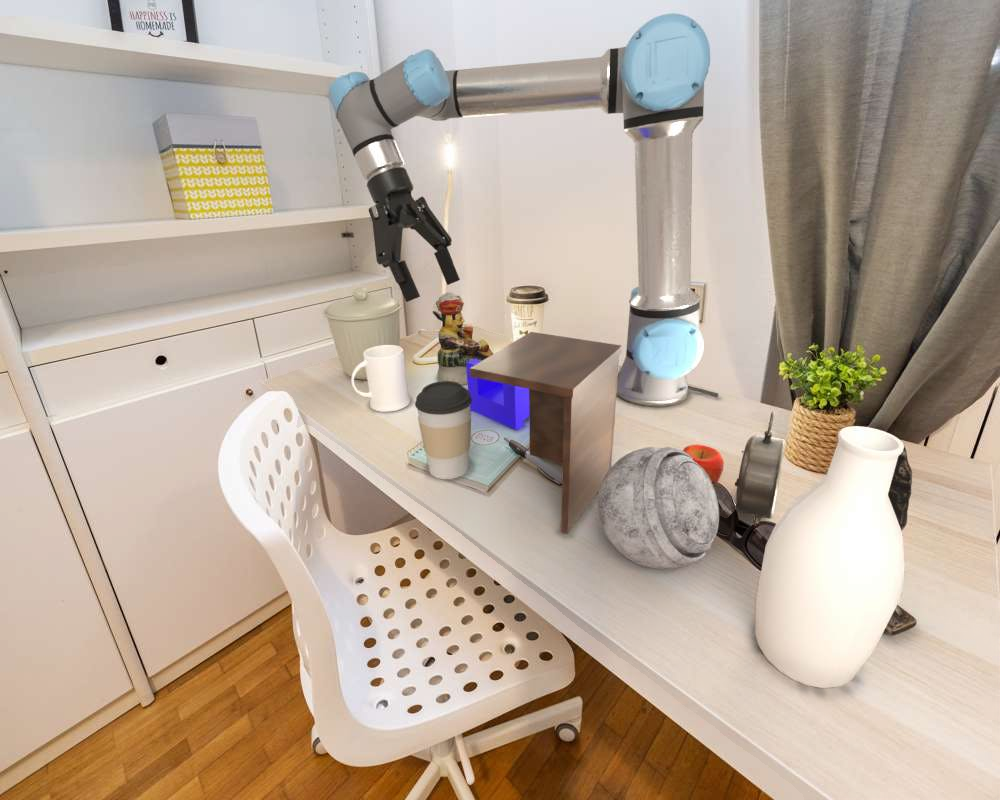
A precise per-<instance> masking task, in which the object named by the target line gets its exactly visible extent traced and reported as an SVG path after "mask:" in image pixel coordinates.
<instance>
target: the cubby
mask: <svg viewBox="0 0 1000 800" xmlns="http://www.w3.org/2000/svg"><path fill="white" fill-rule="evenodd" d="M622 351H623V346H622V345H621V344H615V343H608V342H600V341H595V340H589V339H581V338H574V337H568V336H561V335H554V334H548V333H541V332H535V331H530V332H528V333H527V334H525V335H523V336H522V337H520V338H518V339H516V340H514V341H513V342H512V343H509V344H508V345H506V346H504V347H503V348H502V349H500V350H498V351H495V352H494V353H493V355H491V356H489V357H488V358H486V359H484V360H483V361H481V362H479V363H478V364H476V365H474V366H473V367H471V368H469V371H470V377H475V378H480V379H485V380H489V381H494V382H499V383H503V384H508V385H513V386H518V387H522V388H527V389H529V417H528V419H529V420H528V421H529V425H528V426H529V456H532V457H535V458H538V459H542V460H546V461H549V462H553V463H557V464H561V465H562V471H561V472H562V475H561V476H562V477H561V478H562V479H561V513H560V515H561V516H560V533H561V534H565V535H569V533H570V532H571V530H572V529H573V528H574V526H575V525H576V524H577V522H578V520H579V519H580V518H581V516H582V514H583V513H584V511H585V510H586V509H587V508H588V507H589V505H590V504H591V502H592V501H593V499H594V498H595V496H597V494H598V493H599V490H600V487H601V484H602V481H603V479H604V477H605V475H606V474H607V472H608V471H609V469H610V468H611V467H612V461H613V460H612V459H613V448H614V447H613V446H614V445H613V444H614V431H615V419H616V417H615V416H616V405H617V404H616V403H617V394H616V392H617V378H618V374H619V362H620V355H621V354H622Z"/></svg>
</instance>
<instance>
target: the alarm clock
mask: <svg viewBox="0 0 1000 800" xmlns="http://www.w3.org/2000/svg"><path fill="white" fill-rule="evenodd" d="M774 419H775V411H771V413H770V418H769V422H768V428H767V430H765V431H764V435H760V434H759V435H758V434H756V435H752V436H751V437H750V438H748V439H747V442H746V443H745V447H744V450H741V453H742V458H741V462H740V467H739V473H738V477H737V478H736V481H735V482H734V486H735V487H736V497H735V500H736V501H735V502H736V504H735V505H734V508H735V509H736V508H738V509H739V510H740V511H741V512H742V513H744V514H745V513H746V514H749V515H753V516H754V517H753V518H754V519H753V525H754V524H755V523H757V522H759V523H760V522H761V518H766V519H772V517H773V515H774V511H775V506H776V505H775V504H776V501H777V496H778V491H779V484H780V479H781V474H782V467H783V460H784V454H785V449H786V440H785V439H784V438H775V437H773V432H772V431H771V430H772V427H773V424H774V423H773V422H774Z"/></svg>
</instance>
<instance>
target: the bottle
mask: <svg viewBox="0 0 1000 800" xmlns="http://www.w3.org/2000/svg"><path fill="white" fill-rule="evenodd" d="M837 439H838V442H837V444H836V448H835V450H834V453H833V455H832V458H831V461H830V464H829V465H828V470H827V472H826V475H825V476H824V477H823V478H822V479H820V480H819V481H818V482H816V483H814V485H812V486H811V487H809V488H808V489H806V490H805V491H804V492H803V493H801V494H800V495H799V496H798V497H796V498H795V500H794V501H793V502H791V504H790V505H789V506H788V508H787V509H786V510H785V512H784V513H783V514H782V516H781V517H780V518H779V519H778V520H777V522H776V523H775V525H774V527H773V529H772V532H771V533H770V535H769V537H768V540H767V542H766V543H765V548H764V553H763V558H762V563H761V568H760V569H761V570H760V575H759V582H758V587H757V593H756V598H755V599H756V600H755V601H756V602H755V631H754V632H755V633H754V634H755V637H756V638H755V639H756V641H757V645H758V647H759V649H760V650H761V651H762V653H763V655H764V657H765V658H766V659H767V661H768V662H769V663H770V664H772V666H773V667H774V668H775V669H777V670H778V671H779V672H780V673H781V674H783V675H785V676H786V677H788V678H789V679H791V680H792V681H796V682H797V683H800V684H802V685H805V686H808V687H813V688H820V689H830V688H839V687H842V686H845V685H846V684H848V683H850V682H851V681H852V680H853V679H854V677H856V675H857V674H858V673H859V671H860V669H862V667H863V665H864V664H865V663H866V661H867V660H868V659H869V658H870V656H871V655H872V654H873V652H874V651H875V649H876V647H877V645H878V644H879V641H880V640H881V638H882V636H883V634H884V632H885V631H884V630H885V628H886V626H887V624H888V622H889V620H890V618H891V616H892V614H893V612H894V610H895V608H896V606H897V605H899V602H900V600H901V598H902V592H903V587H904V580H905V572H906V566H905V565H906V564H905V551H904V538H903V533H902V532H903V530H902V531H901V528H900V525H899V523H898V520H897V518H896V515H895V512H894V510H893V507H892V504H891V502H890V499H889V497H888V492H889V489H890V485H891V481H892V478H893V474H894V470H895V467H896V463H897V459H898V456H899V455H900V454H901V453H902V452H903V449H904V447H905V445H904V443H903V441H901V440H900V439H899V438H898V437H897V436H895V435H893V434H892V433H889V432H887V431H884V430H881V429H877V428H874V427H868V426H860V425H852V426H846V427H842V428H840V430H839V431H838V434H837Z"/></svg>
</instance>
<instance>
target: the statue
mask: <svg viewBox="0 0 1000 800" xmlns="http://www.w3.org/2000/svg"><path fill="white" fill-rule="evenodd" d="M912 484H913V470H912V467H911V466H910V463H909V460H908V452H907V449H906V446H904V449H903V452H902V453H901V454H900V455H899V456H898V459H897V463H896V467H895V470H894V474H893V478H892V481H891V485H890V489H889V492H888V497H889V499H890V502H891V504H892V507H893V510H894V512H895V515H896V518H897V520H898V523H899V525H900V528H901V531H902V532H903V530H904V529H905V527H906V525H907V523H908V510H909V505H910V499H911V495H912ZM917 622H918V621H917V619H916V618H915V617H914V616H913V615H912V614H911V613H909V612H908V611H906V610H905V609H904V608H903V607H901V606H900V605H899V604H897V606H896V608H895V610H894V612H893V614H892V616H891V618H890V620H889V622H888V624H887V626H886V628H885V630H884V632H885V633H886V634H888V635H890V636H894V635H898V634H901V633H903V632H906V631H908V630H911V629H913V628H915V627H916V626H917Z"/></svg>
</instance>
